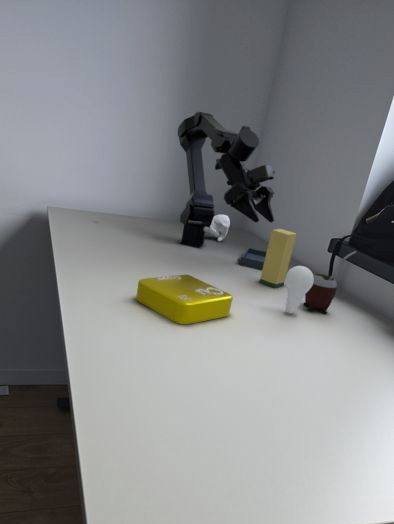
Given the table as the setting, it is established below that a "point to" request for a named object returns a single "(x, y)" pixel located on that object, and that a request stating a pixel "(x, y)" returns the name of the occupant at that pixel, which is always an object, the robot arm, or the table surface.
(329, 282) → the mate gourd
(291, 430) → the table surface
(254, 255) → the tray
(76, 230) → the table surface
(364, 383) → the table surface
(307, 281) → the lightbulb
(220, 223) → the white irregular rounded piece
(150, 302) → the element tile
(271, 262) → the sponge
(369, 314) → the table surface
